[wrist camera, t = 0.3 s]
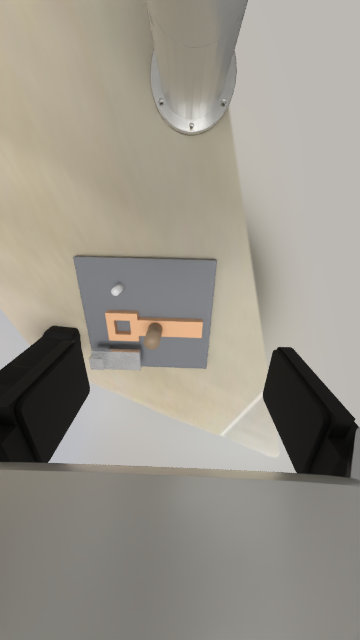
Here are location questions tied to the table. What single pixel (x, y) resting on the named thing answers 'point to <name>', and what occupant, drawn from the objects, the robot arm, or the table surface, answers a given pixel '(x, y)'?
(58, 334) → the portable radio
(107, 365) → the keeper
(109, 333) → the link
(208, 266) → the pintle board
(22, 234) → the table surface
